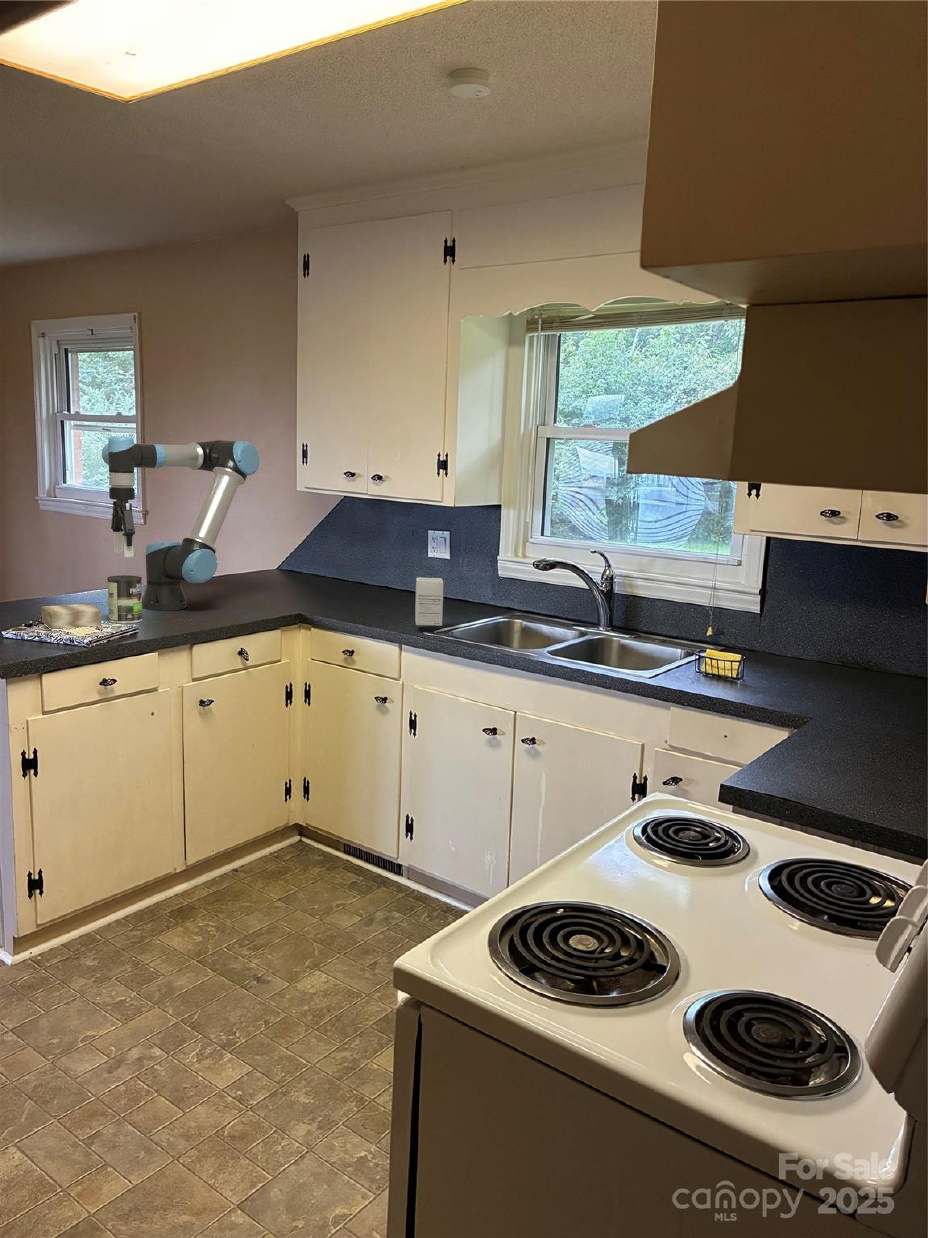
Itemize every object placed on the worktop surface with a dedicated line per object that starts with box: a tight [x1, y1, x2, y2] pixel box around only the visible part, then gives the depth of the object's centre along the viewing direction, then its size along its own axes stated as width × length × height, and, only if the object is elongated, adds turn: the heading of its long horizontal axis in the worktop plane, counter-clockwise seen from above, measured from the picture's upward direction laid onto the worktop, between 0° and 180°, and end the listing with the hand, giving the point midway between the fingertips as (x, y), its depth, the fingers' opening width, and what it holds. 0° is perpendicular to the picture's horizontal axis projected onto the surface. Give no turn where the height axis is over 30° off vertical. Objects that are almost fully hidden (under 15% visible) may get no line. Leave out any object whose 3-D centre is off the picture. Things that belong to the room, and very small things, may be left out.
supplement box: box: [414, 576, 444, 626], centre depth 313 cm, size 9×9×15 cm
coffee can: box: [106, 574, 143, 624], centre depth 298 cm, size 10×10×14 cm
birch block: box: [40, 603, 102, 629], centre depth 286 cm, size 14×14×6 cm
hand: (123, 554), depth 295 cm, fingers open, 13 cm apart
